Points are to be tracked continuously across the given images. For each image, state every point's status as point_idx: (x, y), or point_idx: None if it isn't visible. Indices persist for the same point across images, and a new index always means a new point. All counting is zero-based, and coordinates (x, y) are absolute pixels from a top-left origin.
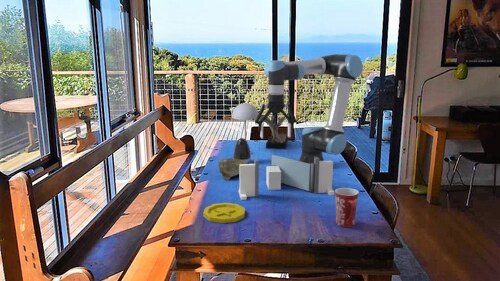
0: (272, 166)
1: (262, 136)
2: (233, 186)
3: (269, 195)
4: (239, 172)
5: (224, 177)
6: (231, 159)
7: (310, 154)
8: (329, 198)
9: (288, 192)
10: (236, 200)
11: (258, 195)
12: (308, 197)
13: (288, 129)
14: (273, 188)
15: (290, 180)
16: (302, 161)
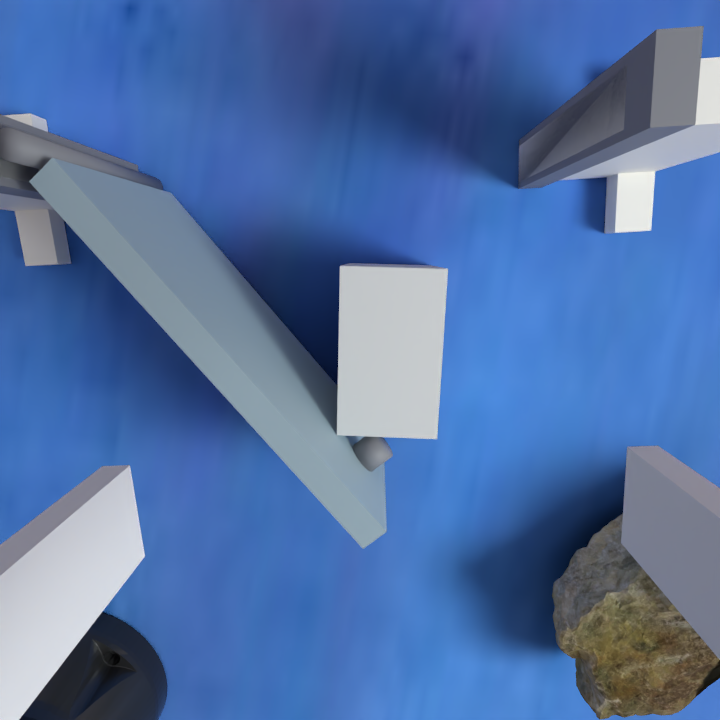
0: (388, 425)
1: (656, 462)
2: (651, 351)
3: (442, 152)
4: (593, 542)
5: None
6: (672, 681)
7: (37, 718)
8: (55, 58)
9: (307, 200)
10: None
11: (521, 138)
12: (190, 90)
13: (50, 614)
14: (397, 264)
15: (268, 318)
16: (126, 687)
